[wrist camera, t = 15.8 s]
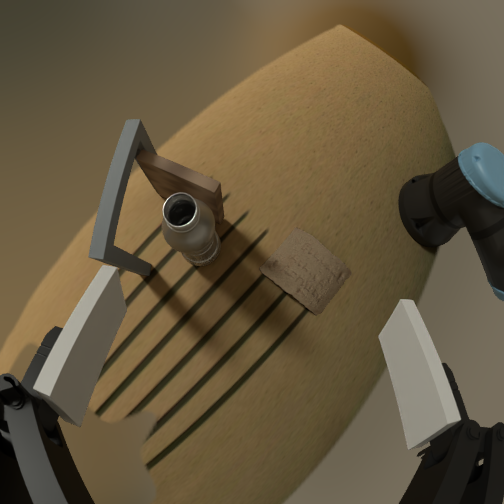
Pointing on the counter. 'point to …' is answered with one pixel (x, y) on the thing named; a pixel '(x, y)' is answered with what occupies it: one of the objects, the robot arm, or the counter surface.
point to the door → (181, 181)
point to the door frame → (119, 201)
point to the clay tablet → (306, 270)
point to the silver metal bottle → (190, 229)
